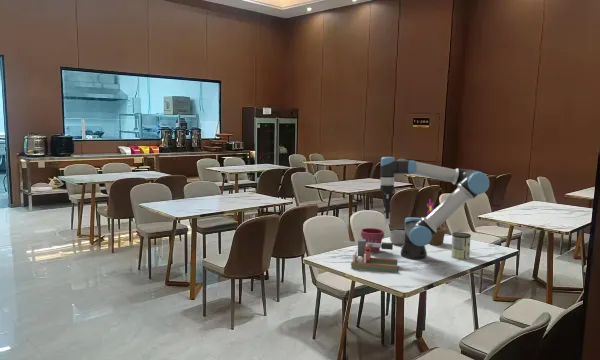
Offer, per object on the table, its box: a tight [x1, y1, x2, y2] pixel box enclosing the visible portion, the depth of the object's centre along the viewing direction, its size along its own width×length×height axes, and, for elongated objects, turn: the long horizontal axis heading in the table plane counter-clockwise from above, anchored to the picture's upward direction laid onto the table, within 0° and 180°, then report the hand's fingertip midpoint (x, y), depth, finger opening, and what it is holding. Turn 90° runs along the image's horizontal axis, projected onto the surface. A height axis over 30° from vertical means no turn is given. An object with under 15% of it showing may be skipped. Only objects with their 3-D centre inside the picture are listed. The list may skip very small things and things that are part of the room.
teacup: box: [389, 229, 405, 245], centre depth 297 cm, size 14×11×8 cm
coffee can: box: [450, 231, 472, 261], centre depth 264 cm, size 10×10×14 cm
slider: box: [342, 240, 394, 263], centre depth 249 cm, size 28×13×10 cm, turn 76°
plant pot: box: [360, 227, 385, 254], centre depth 277 cm, size 14×14×13 cm
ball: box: [356, 255, 364, 263], centre depth 246 cm, size 4×4×4 cm
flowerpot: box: [426, 198, 448, 247], centre depth 295 cm, size 14×14×30 cm
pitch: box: [350, 238, 398, 273], centre depth 246 cm, size 24×17×12 cm
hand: (386, 221), depth 253 cm, fingers open, 13 cm apart
